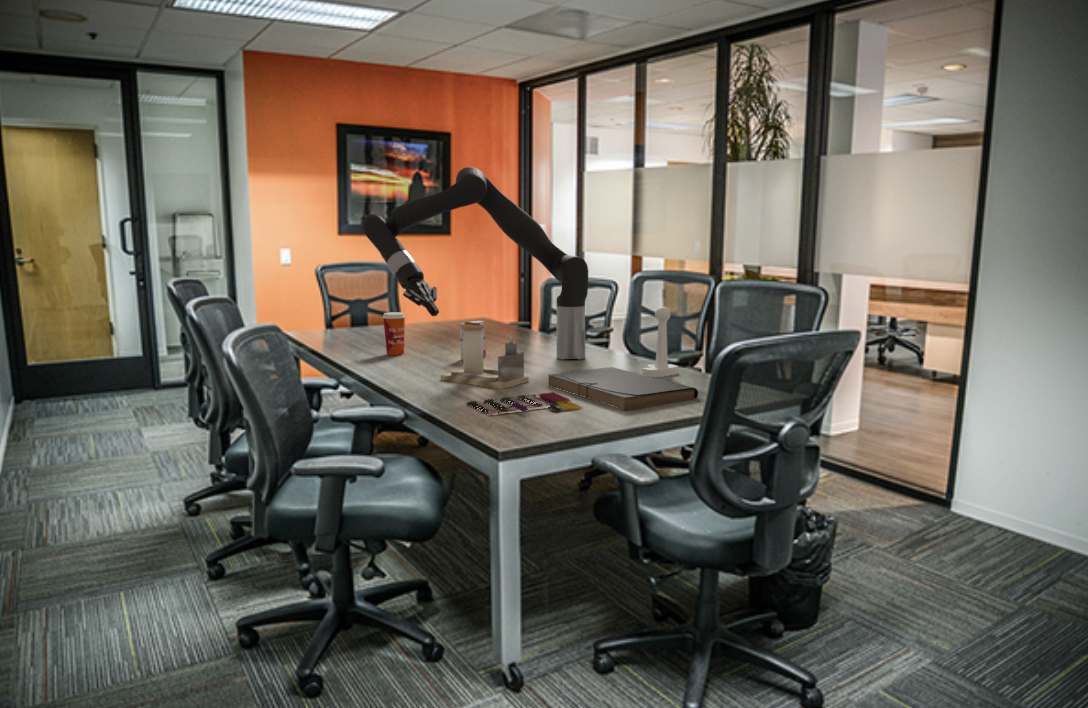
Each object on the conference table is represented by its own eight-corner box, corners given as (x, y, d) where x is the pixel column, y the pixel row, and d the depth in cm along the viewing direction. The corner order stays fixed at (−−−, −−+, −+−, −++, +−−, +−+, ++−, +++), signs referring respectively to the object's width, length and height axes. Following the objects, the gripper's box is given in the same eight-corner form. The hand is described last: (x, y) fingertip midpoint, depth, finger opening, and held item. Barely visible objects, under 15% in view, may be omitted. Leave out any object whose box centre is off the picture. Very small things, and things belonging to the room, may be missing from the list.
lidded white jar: (457, 373, 215) (455, 323, 213) (472, 370, 221) (471, 320, 218) (474, 376, 212) (473, 324, 209) (489, 372, 217) (489, 322, 215)
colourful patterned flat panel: (554, 396, 198) (554, 386, 198) (589, 411, 183) (589, 400, 182) (465, 407, 187) (464, 396, 186) (494, 424, 171) (494, 412, 171)
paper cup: (391, 357, 252) (389, 315, 249) (379, 354, 257) (377, 313, 255) (411, 354, 257) (410, 313, 255) (399, 351, 263) (398, 311, 260)
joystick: (651, 378, 217) (653, 308, 213) (634, 374, 223) (635, 306, 220) (680, 374, 223) (682, 306, 219) (663, 369, 229) (665, 303, 226)
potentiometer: (502, 354, 207) (502, 336, 206) (510, 352, 210) (509, 334, 209) (512, 355, 205) (512, 337, 205) (519, 354, 208) (519, 335, 207)
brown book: (547, 373, 207) (617, 365, 220) (546, 388, 207) (616, 379, 220) (623, 396, 179) (698, 385, 192) (623, 413, 180) (697, 401, 193)
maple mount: (440, 379, 216) (440, 350, 214) (468, 372, 225) (467, 344, 224) (502, 389, 203) (501, 358, 202) (528, 381, 213) (528, 351, 212)
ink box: (473, 355, 255) (472, 320, 253) (486, 356, 253) (485, 321, 251) (459, 359, 247) (458, 323, 245) (472, 360, 245) (472, 324, 243)
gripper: (414, 277, 233) (444, 320, 228) (382, 278, 222) (413, 324, 218) (427, 260, 229) (457, 304, 225) (395, 261, 219) (427, 307, 214)
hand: (435, 314), depth 221 cm, fingers closed
